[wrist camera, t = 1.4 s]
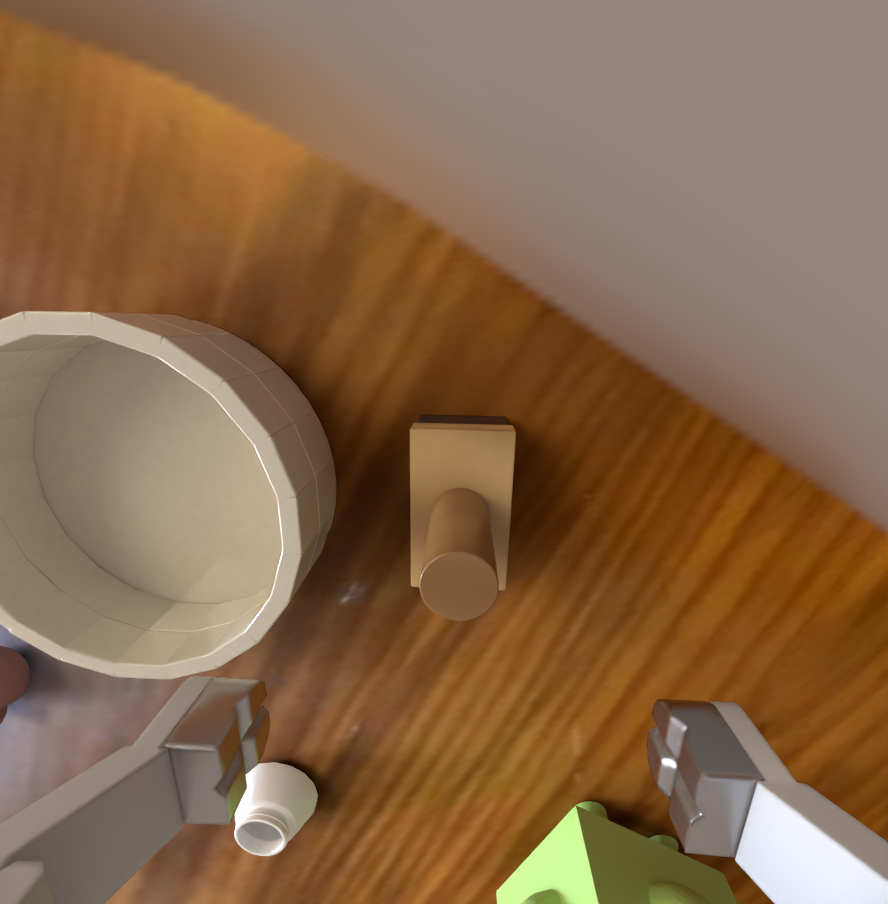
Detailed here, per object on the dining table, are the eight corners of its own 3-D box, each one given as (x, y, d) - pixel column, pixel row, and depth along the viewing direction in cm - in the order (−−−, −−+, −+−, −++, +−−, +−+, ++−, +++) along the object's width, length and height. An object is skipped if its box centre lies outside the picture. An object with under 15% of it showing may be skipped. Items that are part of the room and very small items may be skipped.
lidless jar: (255, 816, 28) (327, 810, 28) (232, 870, 26) (312, 865, 25) (232, 759, 27) (308, 753, 27) (205, 810, 24) (289, 803, 24)
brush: (418, 412, 20) (386, 472, 12) (508, 414, 20) (538, 476, 12) (418, 548, 22) (391, 680, 14) (499, 551, 22) (521, 687, 14)
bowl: (-8, 312, 20) (-159, 307, 15) (326, 317, 19) (280, 314, 14) (71, 602, 24) (-27, 670, 19) (344, 614, 24) (313, 687, 19)
